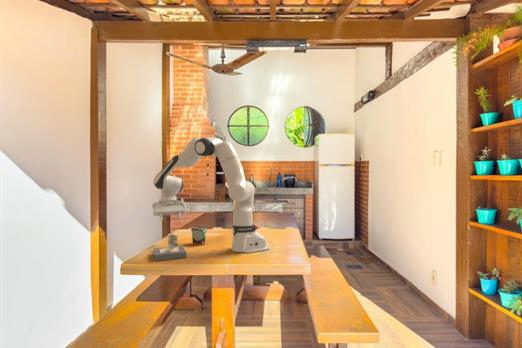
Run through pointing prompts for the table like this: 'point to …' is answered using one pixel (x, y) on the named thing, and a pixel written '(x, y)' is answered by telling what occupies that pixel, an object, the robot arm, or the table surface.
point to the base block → (169, 253)
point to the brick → (172, 240)
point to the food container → (198, 235)
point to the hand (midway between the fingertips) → (170, 219)
